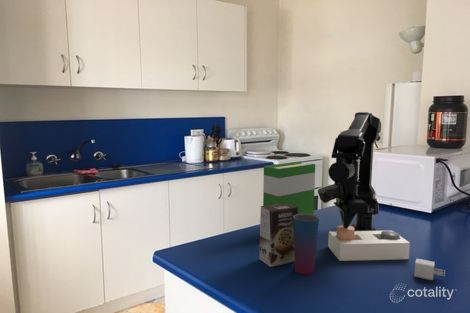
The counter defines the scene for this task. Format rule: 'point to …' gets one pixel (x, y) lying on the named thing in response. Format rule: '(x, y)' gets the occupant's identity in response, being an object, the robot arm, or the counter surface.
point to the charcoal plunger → (389, 235)
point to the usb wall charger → (426, 269)
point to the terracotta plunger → (345, 233)
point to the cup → (305, 242)
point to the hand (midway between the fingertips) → (345, 227)
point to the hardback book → (290, 185)
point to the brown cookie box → (277, 234)
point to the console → (368, 247)
